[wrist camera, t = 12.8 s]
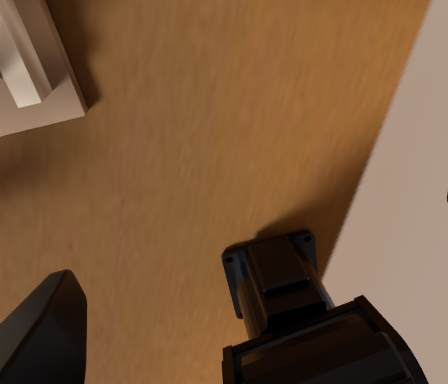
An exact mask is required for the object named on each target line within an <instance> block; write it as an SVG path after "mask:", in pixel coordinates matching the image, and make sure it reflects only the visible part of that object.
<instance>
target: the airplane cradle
mask: <svg viewBox="0 0 448 384" xmlns="http://www.w3.org/2000/svg"><path fill="white" fill-rule="evenodd" d="M0 79H1V80H0V136H4V135H8V134H12V133H16V132H20V131H24V130H28V129H33V128H37V127H41V126H45V125H49V124H53V123H57V122H62V121H66V120H70V119H74V118H78V117H82V116H86V114H87V112H88V107H87V105H86V102H85V100H84V97H83V95H82V92H81V90H80V87H79V85H78V82H77V80H76V77H75V74H74V72H73V69H72V67H71V64H70V62H69V59H68V57H67V54H66V52H65V49H64V47H63V44H62V42H61V39H60V37H59V34H58V32H57V29H56V27H55V24H54V21H53V19H52V16H51V14H50V11H49V9H48V6H47V4H46V1H45V0H0Z"/></svg>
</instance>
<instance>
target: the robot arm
mask: <svg viewBox="0 0 448 384" xmlns="http://www.w3.org/2000/svg"><path fill="white" fill-rule="evenodd" d="M447 202H448V195H447ZM306 236H308V238H306V239H304V238H305V237H306ZM228 257H231V258H230V259H227V258H228ZM221 258H222V262H223V266H224V270H225V274H226V278H227V282H228V285H229V289H230V293H231V297H232V301H233V305H234V309H235V312H236V316H237V318H239V319H244V323H245V327H246V330H247V334H248V338H249V340H248V341H245V342H243V343H240V344H237V345H235V346H232V345H230V346H227V347H225V348H223V361H222V376H223V384H429V383H428V381H427V379H426V377H425V375H424V373H423V371H422V368H421V367H420V365H419V363H418V361H417V359H416V358H415V356H414V354H413V353H412V351H411V350H410V348H409V347H408V345H407V344H406V342H405V341H404V340H403V338H402V337H401V336H400V335H399V334H398V333H397V331H396V330H395V329H394V328H393V327H392V326H391V325H390V324H389V323H388V322H387V321H386V319H385V318H384V317H383V316H382V315H381V314H380V313H379V312H378V311H377V310H376V309H375V307H374V306H373V305H372V304H371V303H370V302H369V301H368V300H367V299H366V298H365V297H364V296H363V295H361V296H358V297H356V298H354V300H353V301H350V302H348V303H345V304H342V305H340V306H337V307H336V306H335V305H334V303H333V301H332V299H331V298H330V296H329V294H328V292H327V291H326V289H325V287H324V285H323V284H322V282H321V280H320V278H319V277H318V273H317V261H316V249H315V237H314V235H313V233H312V232H311V231H310V230H303V231H299V232H295V233H291V234H288V235H284V236H280V237H276V238H273V239H269V240H265V241H261V242H257V243H254V244H250V245H246V246H242V247H239V248H235V249H231V250H227V251H225V252H224V253H223V254H222V256H221ZM241 312H242V313H241ZM86 353H87V299H86V296H85V293H84V292H83V290H82V288H81V286H80V284H79V282H78V281H77V279H76V277H75V275H74V273H73V272H72V271H71V270H68V269H66V270H62V271H58V272H54V273H51V274H50V275H48V276H47V277H46V278H45V279H44V281H43V282H42V283H41V284H40V285H39V286H38V287H37V288H36V289H35V290H34V291H33V292H32V293H31V294H30V295H29V296H28V297H27V298H26V299H25V300H24V301H23V302H22V303H21V304H20V305H19V306H18V307H17V308H16V309H15V310H14V311H13V312H12V313H11V314H10V315H9V316H8V317H7V318H6V319H5V320H4V321H3V322H2V323H1V324H0V384H84V382H85V373H86Z"/></svg>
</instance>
